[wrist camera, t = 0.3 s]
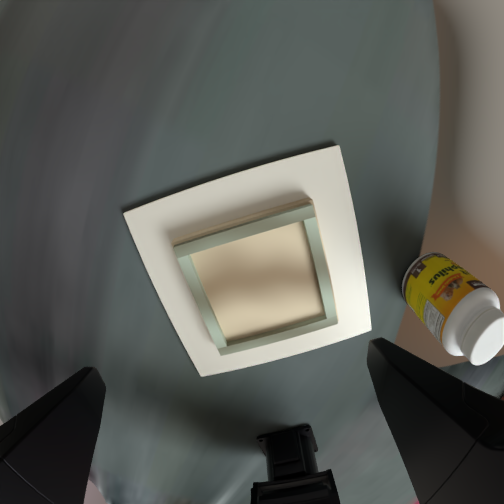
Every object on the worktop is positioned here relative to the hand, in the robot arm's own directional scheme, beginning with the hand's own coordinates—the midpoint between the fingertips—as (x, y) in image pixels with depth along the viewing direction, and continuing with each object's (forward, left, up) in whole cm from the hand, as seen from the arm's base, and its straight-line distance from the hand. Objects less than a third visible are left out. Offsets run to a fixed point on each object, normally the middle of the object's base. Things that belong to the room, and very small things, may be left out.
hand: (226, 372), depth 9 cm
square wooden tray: (-4, -1, -14) cm, 14 cm away
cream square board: (-4, -1, -14) cm, 15 cm away
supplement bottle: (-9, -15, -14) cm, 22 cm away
